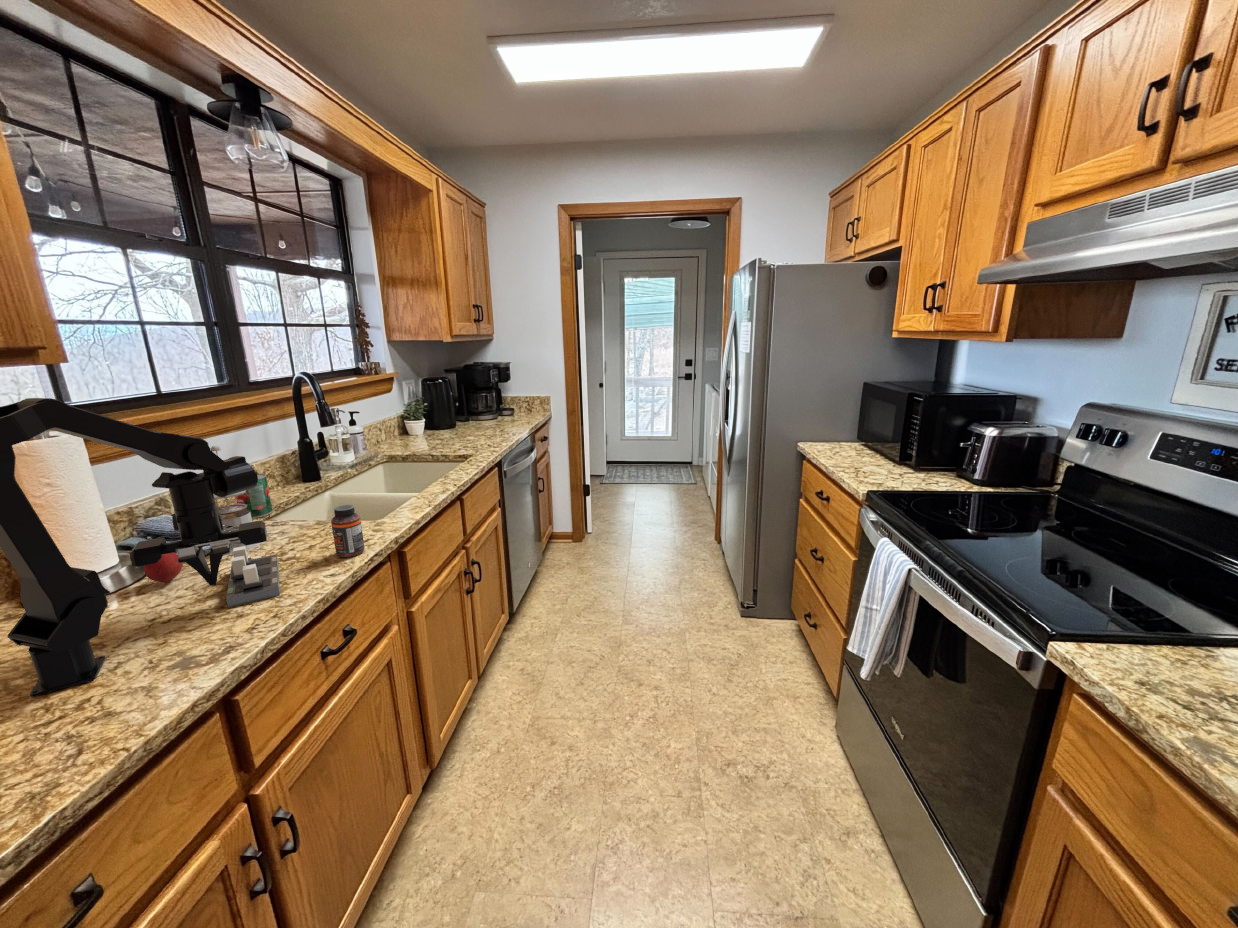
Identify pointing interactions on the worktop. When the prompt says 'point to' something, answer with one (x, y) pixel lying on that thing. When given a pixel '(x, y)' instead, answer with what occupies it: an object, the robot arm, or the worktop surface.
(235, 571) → the handle
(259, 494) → the canned tomato
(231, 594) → the breaker panel
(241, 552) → the far breaker handle
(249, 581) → the breaker handle
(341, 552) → the supplement bottle
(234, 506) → the french press
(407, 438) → the worktop surface
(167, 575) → the onion
